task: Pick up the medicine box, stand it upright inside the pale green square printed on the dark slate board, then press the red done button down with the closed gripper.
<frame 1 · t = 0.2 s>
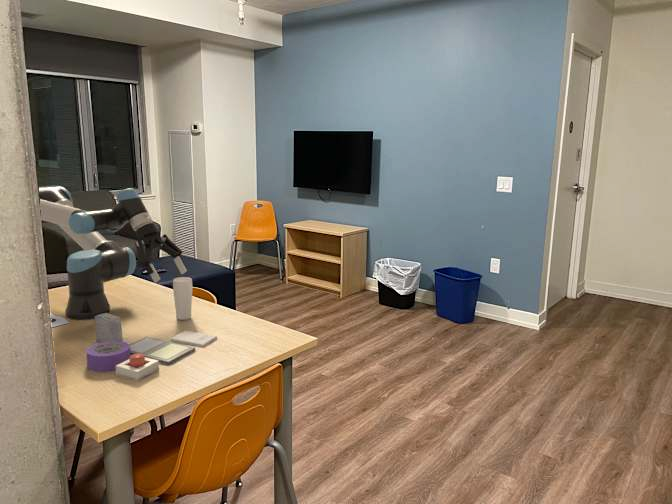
hand: (171, 276, 187), 15 cm above the table, tool tilted 35°, fingers open, 13 cm apart
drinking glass: (183, 318, 189), on the table
external hard drive: (194, 342, 169), on the table
button housing: (137, 372, 144), on the table
tape roll: (109, 364, 150), on the table
picture board: (156, 351, 159), on the table
done button: (137, 361, 143), point 4 cm above the table, slide at 0.0 cm
medicine box: (109, 342, 165), on the table
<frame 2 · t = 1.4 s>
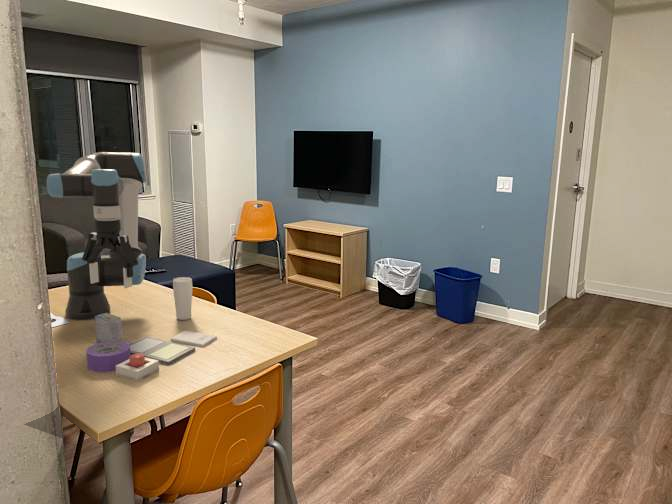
hand: (111, 284, 162), 19 cm above the table, tool pointing down, fingers open, 13 cm apart
nothing on the table moved.
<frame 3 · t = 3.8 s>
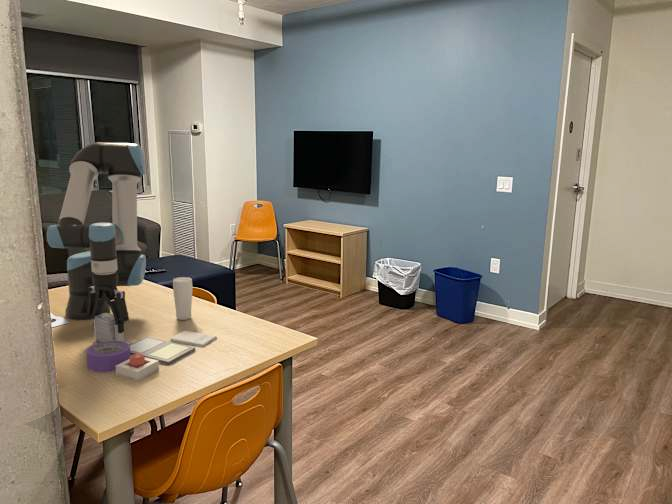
hand: (109, 339, 165), 1 cm above the table, tool pointing down, fingers closed on medicine box, 8 cm apart
medicine box: (109, 342, 165), on the table, touching gripper
everything else where it was.
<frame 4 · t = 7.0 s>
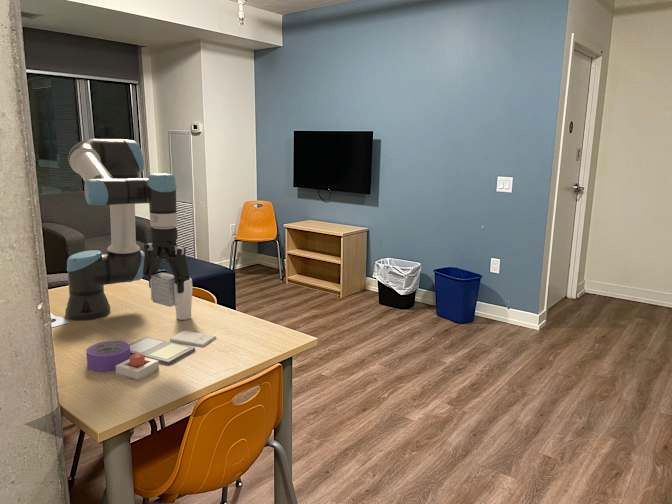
hand: (166, 300, 153), 17 cm above the table, tool pointing down, fingers closed on medicine box, 8 cm apart
medicine box: (166, 303, 153), point 16 cm above the table, touching gripper
everything else where it was.
when the fingers open (3 cm above the table, at t = 10.4 s): medicine box drops 1 cm, resting on picture board.
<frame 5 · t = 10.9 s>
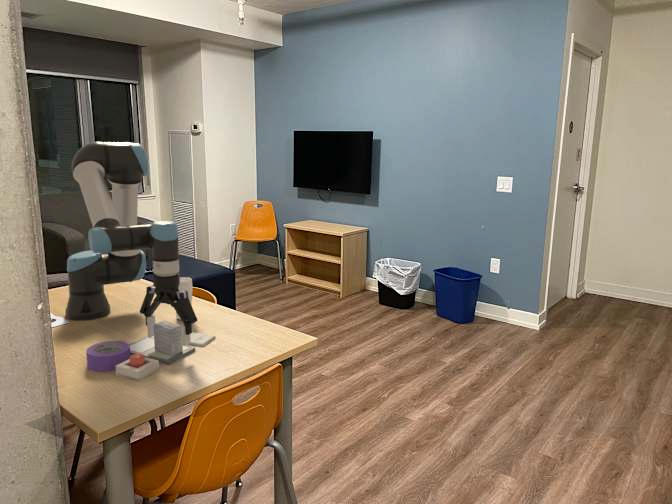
hand: (168, 340, 156), 5 cm above the table, tool pointing down, fingers open, 13 cm apart
medicine box: (168, 351, 157), point 1 cm above the table, touching picture board
everything else where it was.
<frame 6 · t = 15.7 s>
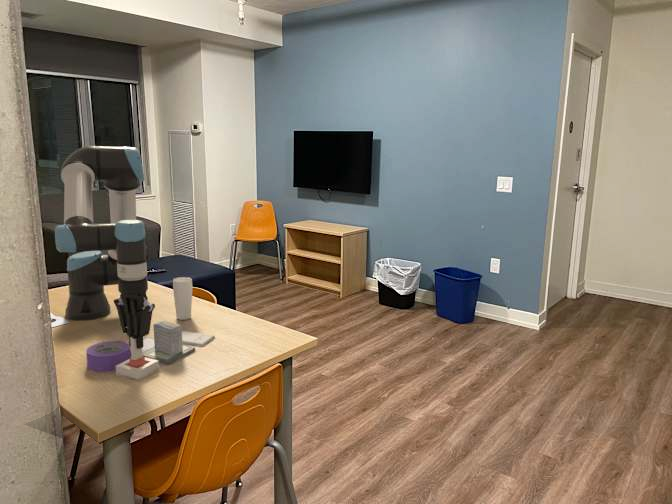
hand: (137, 358, 143), 5 cm above the table, tool pointing down, fingers closed
done button: (137, 363, 143), point 3 cm above the table, slide at 0.7 cm, touching gripper
everything else where it was.
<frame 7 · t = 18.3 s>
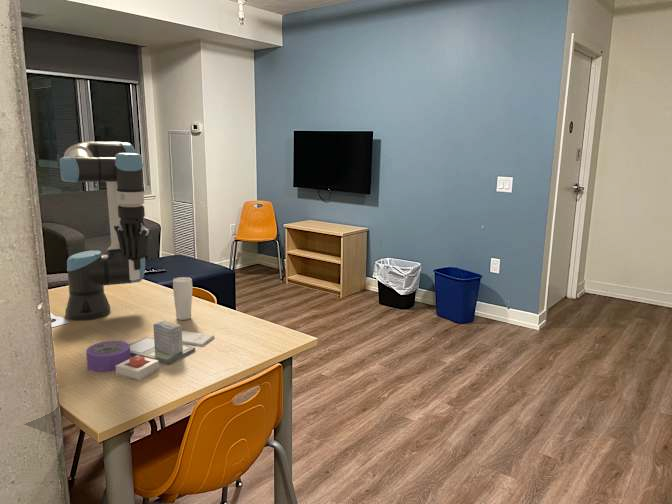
hand: (134, 279, 159), 22 cm above the table, tool pointing down, fingers closed
done button: (137, 363, 143), point 3 cm above the table, slide at 0.8 cm
everything else where it was.
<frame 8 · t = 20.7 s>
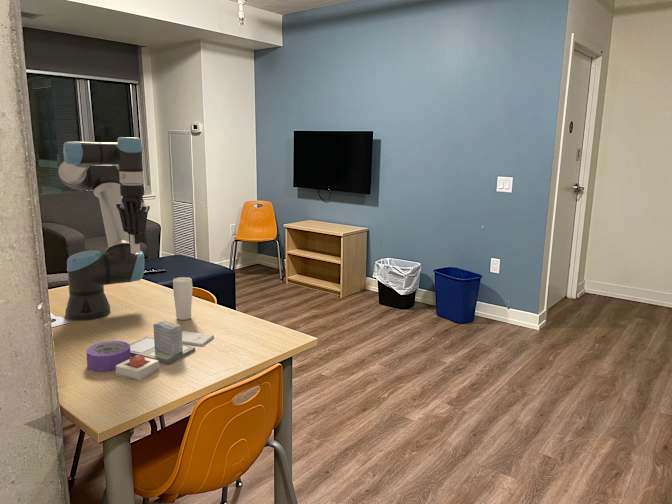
hand: (135, 252, 175), 26 cm above the table, tool pointing down, fingers closed
at the end: medicine box inside the target area (0.2 cm from its centre), point 0.9 cm above the table; medicine box tilted 0°; done button slide at 0.8 cm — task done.
